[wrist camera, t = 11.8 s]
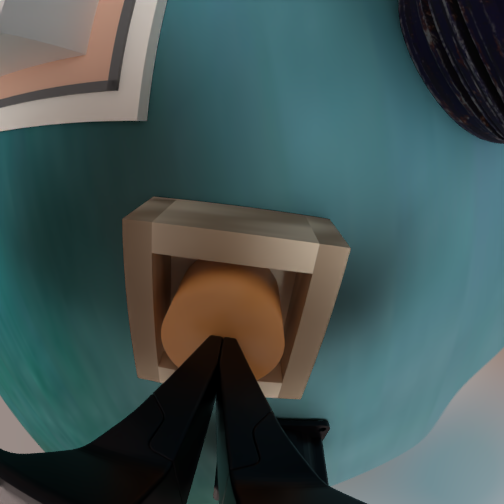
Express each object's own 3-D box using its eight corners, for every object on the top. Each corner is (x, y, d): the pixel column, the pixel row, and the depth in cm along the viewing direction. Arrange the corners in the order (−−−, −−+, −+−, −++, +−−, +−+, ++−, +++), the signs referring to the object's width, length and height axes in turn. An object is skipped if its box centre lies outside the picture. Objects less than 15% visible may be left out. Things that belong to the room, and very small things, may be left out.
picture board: (189, -73, 6) (184, -87, 5) (146, 120, 10) (134, 120, 9) (-31, 6, 6) (-42, 4, 4) (-55, 143, 9) (-67, 146, 8)
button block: (329, 218, 11) (350, 248, 9) (294, 353, 14) (300, 399, 11) (153, 196, 11) (122, 218, 8) (155, 335, 14) (137, 377, 11)
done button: (287, 257, 11) (296, 300, 8) (270, 339, 13) (272, 390, 10) (182, 244, 11) (158, 282, 8) (180, 327, 13) (164, 376, 10)
